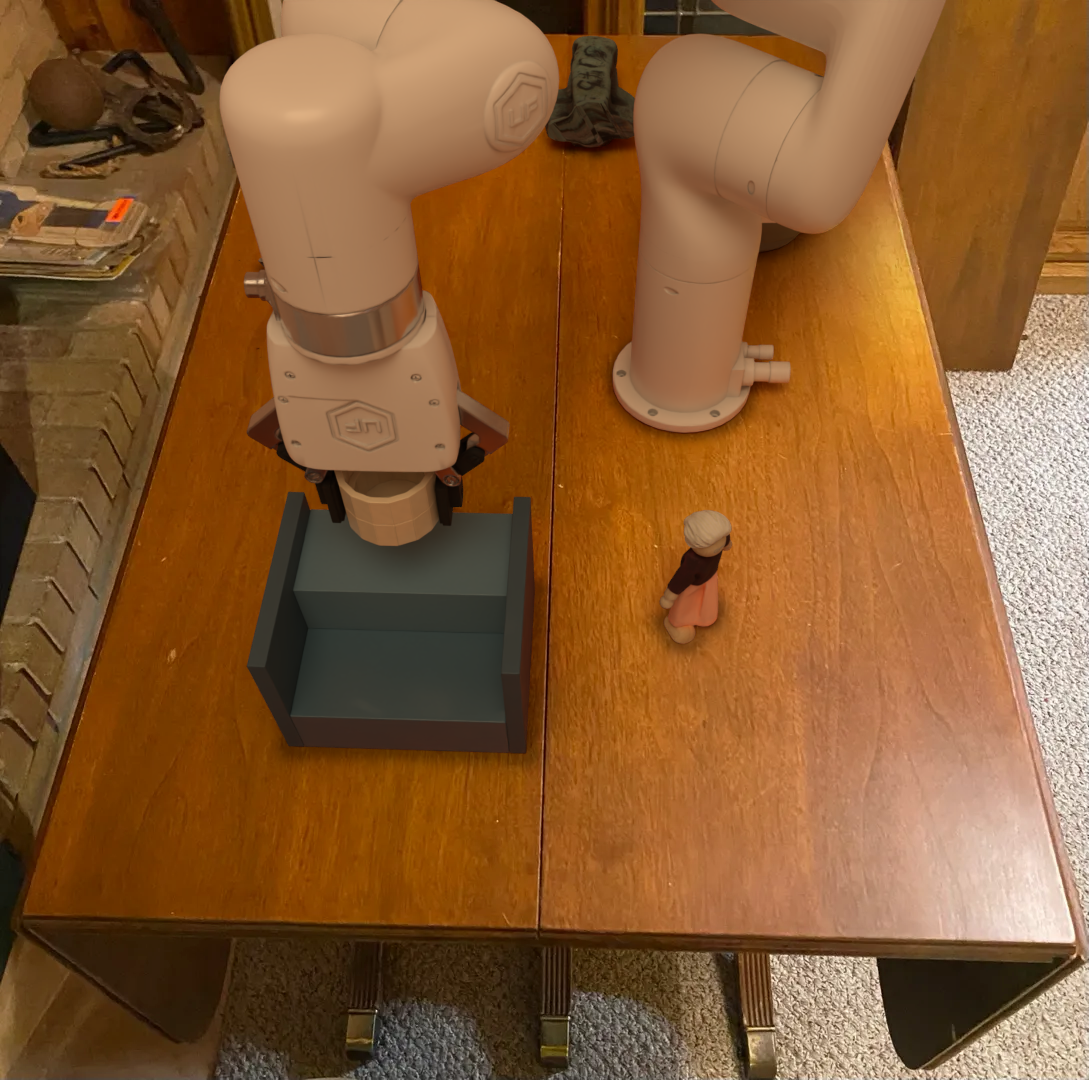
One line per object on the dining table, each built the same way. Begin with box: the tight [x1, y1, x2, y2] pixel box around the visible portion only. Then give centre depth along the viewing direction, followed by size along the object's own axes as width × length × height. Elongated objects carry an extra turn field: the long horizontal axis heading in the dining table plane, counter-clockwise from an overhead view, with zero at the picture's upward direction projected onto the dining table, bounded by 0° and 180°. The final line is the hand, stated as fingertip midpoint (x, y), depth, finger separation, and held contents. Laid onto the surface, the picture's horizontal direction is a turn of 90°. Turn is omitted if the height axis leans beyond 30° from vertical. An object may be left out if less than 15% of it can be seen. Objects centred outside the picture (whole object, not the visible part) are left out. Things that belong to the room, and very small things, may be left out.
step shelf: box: [246, 491, 536, 754], centre depth 73 cm, size 17×14×12 cm
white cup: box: [334, 470, 439, 546], centre depth 65 cm, size 6×6×5 cm
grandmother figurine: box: [659, 509, 733, 645], centre depth 74 cm, size 8×4×13 cm, turn 148°
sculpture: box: [544, 35, 635, 148], centre depth 116 cm, size 12×8×15 cm
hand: (394, 505), depth 67 cm, fingers closed on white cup, 6 cm apart
